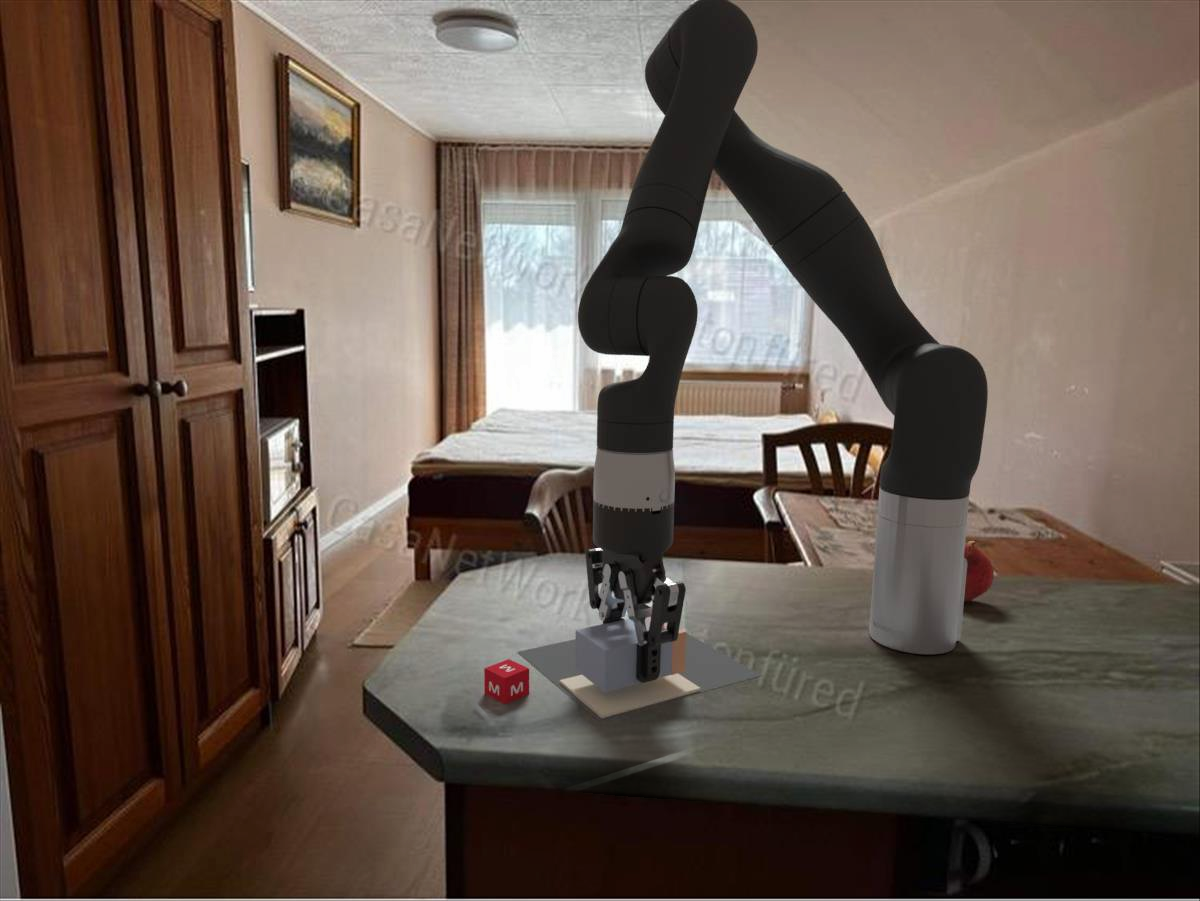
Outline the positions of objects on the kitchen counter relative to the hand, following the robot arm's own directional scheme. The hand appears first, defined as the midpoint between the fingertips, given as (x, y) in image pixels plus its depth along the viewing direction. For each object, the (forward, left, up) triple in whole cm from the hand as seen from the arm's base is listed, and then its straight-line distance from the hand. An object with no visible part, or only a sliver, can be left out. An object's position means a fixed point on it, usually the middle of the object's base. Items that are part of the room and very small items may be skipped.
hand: (630, 667), depth 78 cm
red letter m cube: (+11, -5, -3) cm, 12 cm away
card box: (0, 0, 0) cm, 0 cm away
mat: (-3, -4, -2) cm, 6 cm away
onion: (-52, 0, -3) cm, 52 cm away
